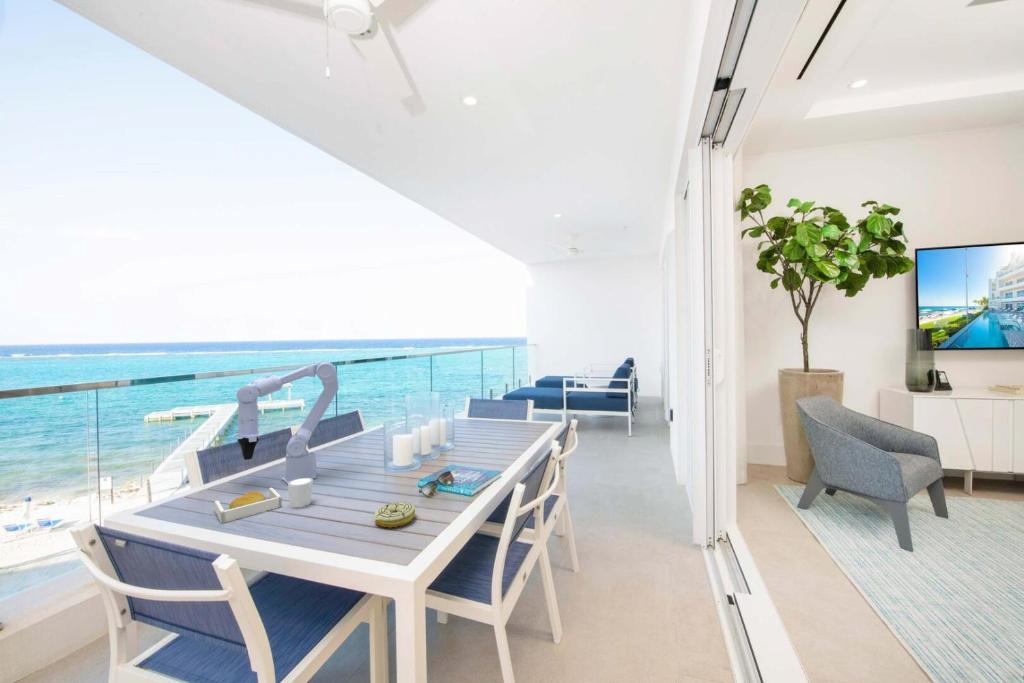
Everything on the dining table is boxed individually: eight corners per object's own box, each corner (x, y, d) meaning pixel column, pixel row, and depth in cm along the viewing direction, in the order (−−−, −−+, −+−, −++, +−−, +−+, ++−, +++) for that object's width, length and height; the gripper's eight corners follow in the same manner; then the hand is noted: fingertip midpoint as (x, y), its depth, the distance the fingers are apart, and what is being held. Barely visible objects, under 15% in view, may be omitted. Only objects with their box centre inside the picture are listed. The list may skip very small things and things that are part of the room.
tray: (271, 496, 122) (271, 487, 122) (281, 507, 114) (281, 497, 114) (214, 511, 111) (214, 501, 111) (221, 523, 104) (221, 512, 104)
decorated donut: (382, 512, 111) (382, 499, 111) (419, 512, 111) (419, 499, 111) (368, 530, 101) (368, 515, 101) (408, 530, 100) (408, 516, 100)
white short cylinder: (317, 499, 120) (317, 477, 120) (303, 509, 113) (303, 485, 113) (297, 499, 120) (297, 476, 120) (282, 508, 113) (282, 485, 113)
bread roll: (222, 513, 111) (222, 499, 111) (248, 500, 120) (248, 488, 120) (247, 515, 109) (247, 501, 109) (271, 502, 118) (271, 489, 118)
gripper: (229, 418, 133) (229, 457, 133) (238, 424, 123) (238, 466, 123) (253, 415, 138) (253, 452, 138) (263, 421, 128) (263, 461, 128)
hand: (248, 459), depth 131 cm, fingers closed
